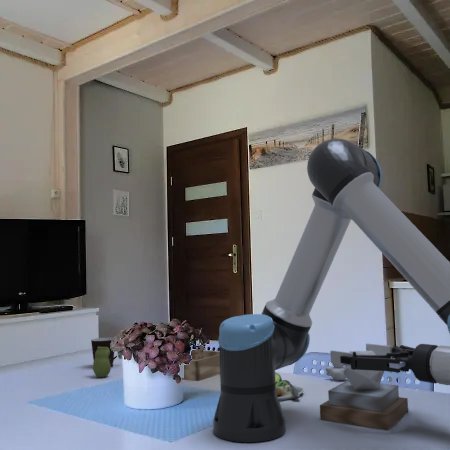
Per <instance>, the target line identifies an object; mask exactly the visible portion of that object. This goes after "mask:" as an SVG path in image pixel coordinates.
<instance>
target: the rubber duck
mask: <svg viewBox="0 0 450 450" xmlns="http://www.w3.org/2000/svg"><path fill="white" fill-rule="evenodd" d="M331 365H332V366H326V367H325V371H326V376H328V377H330V376H331V378H332V379H333V380H335V381H341V382H342V381H344V380H346V379H347V378H346V376H345V375H344V373H343V371H344V368H345V365H339V364H333V363H331Z"/></svg>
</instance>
